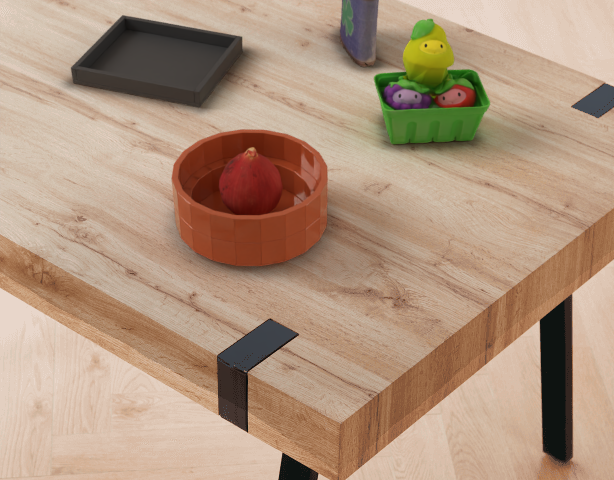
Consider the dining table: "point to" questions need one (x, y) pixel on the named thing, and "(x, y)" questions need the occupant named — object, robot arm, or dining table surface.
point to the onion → (250, 184)
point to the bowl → (250, 228)
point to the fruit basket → (430, 92)
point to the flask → (359, 30)
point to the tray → (158, 60)
